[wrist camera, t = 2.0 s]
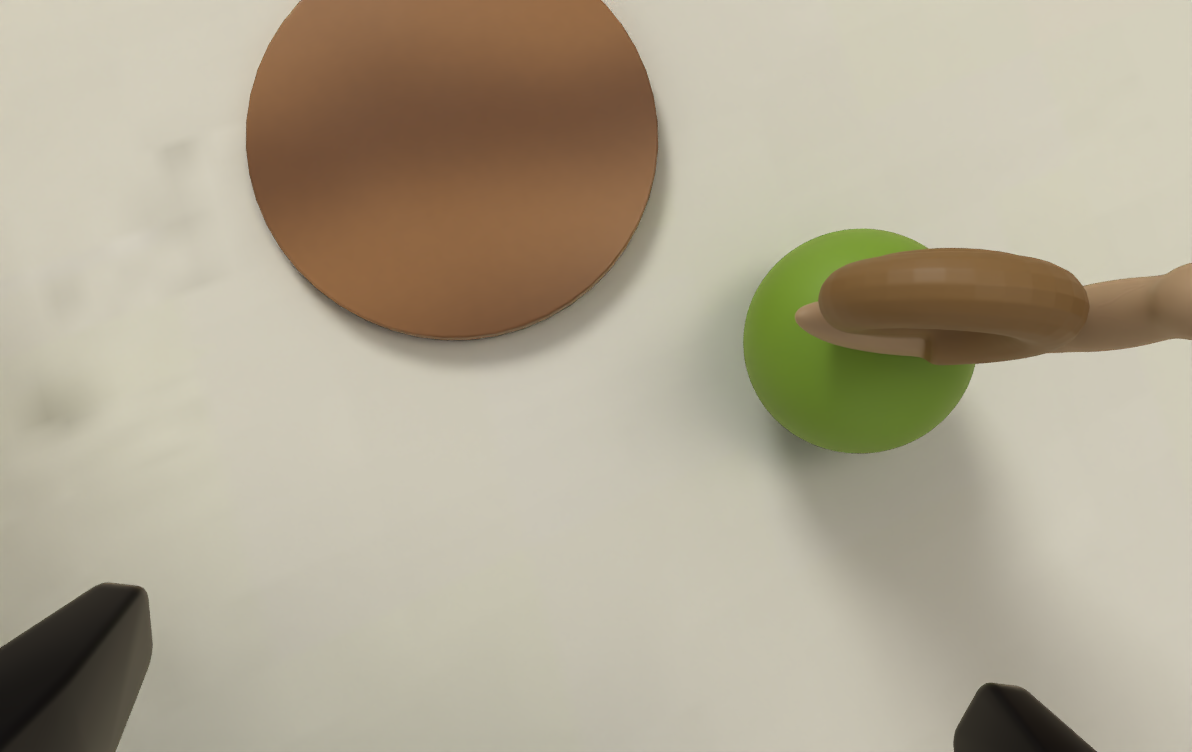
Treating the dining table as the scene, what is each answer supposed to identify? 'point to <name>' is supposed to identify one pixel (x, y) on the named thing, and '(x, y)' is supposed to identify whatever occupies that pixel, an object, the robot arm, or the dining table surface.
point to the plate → (452, 156)
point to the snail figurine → (925, 330)
